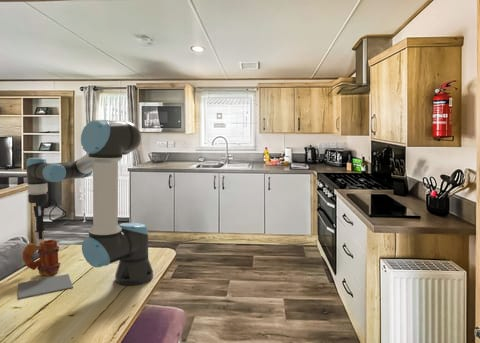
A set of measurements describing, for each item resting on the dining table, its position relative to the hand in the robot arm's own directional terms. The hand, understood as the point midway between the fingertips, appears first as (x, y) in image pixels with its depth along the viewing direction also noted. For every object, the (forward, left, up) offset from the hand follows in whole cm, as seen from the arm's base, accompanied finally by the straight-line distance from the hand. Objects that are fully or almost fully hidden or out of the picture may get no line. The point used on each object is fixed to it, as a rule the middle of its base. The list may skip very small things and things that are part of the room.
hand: (40, 245), depth 156 cm
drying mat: (-22, 0, -10) cm, 25 cm away
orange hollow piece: (-10, 0, -11) cm, 14 cm away
